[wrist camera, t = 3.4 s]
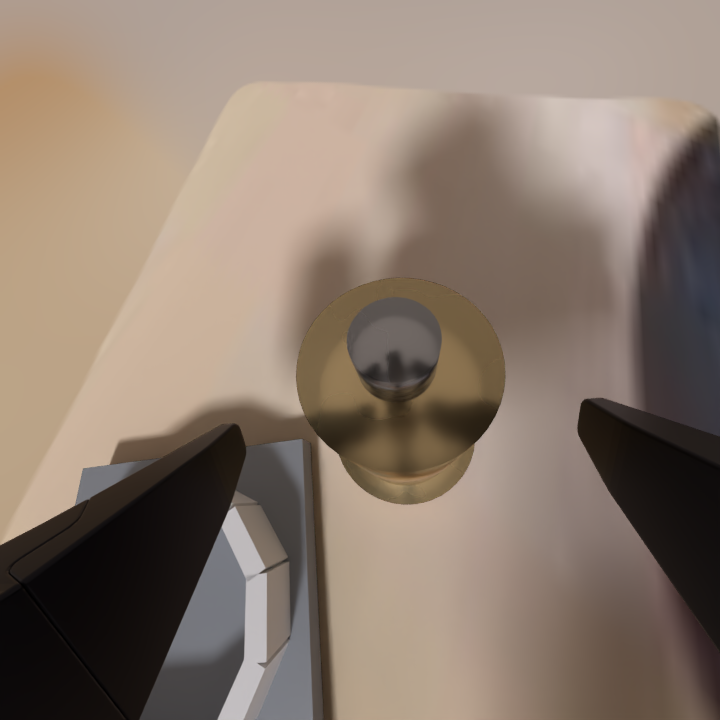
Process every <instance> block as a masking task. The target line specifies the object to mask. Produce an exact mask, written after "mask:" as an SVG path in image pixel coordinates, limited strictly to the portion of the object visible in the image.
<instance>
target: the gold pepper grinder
mask: <svg viewBox="0 0 720 720" xmlns="http://www.w3.org/2000/svg"><path fill="white" fill-rule="evenodd" d="M296 381H297V391H298V395H299V400H300V403H301V406H302V409H303V412H304V414H305V416H306V418H307V420H308V421H309V423H310V425H311V426H312V428H313V429H314V431H315V432H316V433H317V435H318V436H319V437H320V438H321V439H322V440H323V441H324V442H325V443H326V444H327V445H328V446H329V447H330V448H332V449H333V450H334V451H335V452H337V453H338V454H339V456H340V458H341V461H342V463H343V465H344V467H345V469H346V471H347V472H348V473H349V475H350V476H351V478H352V479H353V480H354V481H355V482H356V483H357V484H358V485H359V486H360V487H361V488H363V489H364V490H365V491H366V492H368V493H370V494H371V495H373V496H375V497H377V498H379V499H381V500H384V501H387V502H391V503H396V504H418V503H423V502H427V501H430V500H433V499H435V498H437V497H439V496H441V495H443V494H444V493H446V492H447V491H449V490H450V489H451V488H452V487H453V486H454V485H455V484H456V483H457V482H458V481H459V480H460V479H461V477H462V476H463V475H464V473H465V471H466V470H467V468H468V466H469V463H470V461H471V458H472V455H473V451H474V444H475V442H477V441H478V440H479V438H480V437H481V436H482V435H483V434H484V432H485V431H486V430H487V429H488V427H489V426H490V424H491V422H492V421H493V419H494V418H495V416H496V413H497V411H498V408H499V406H500V404H501V400H502V396H503V392H504V385H505V362H504V357H503V352H502V348H501V346H500V343H499V340H498V337H497V335H496V333H495V332H494V330H493V328H492V326H491V325H490V323H489V322H488V320H487V319H486V317H485V316H484V315H483V314H482V313H481V312H480V311H479V310H478V308H477V307H476V306H474V305H473V304H472V303H471V302H470V301H468V300H467V299H466V298H464V297H463V296H461V295H460V294H458V293H457V292H455V291H453V290H451V289H449V288H447V287H445V286H442V285H439V284H436V283H434V282H430V281H425V280H421V279H413V278H391V279H383V280H378V281H373V282H370V283H367V284H364V285H361V286H359V287H357V288H354V289H352V290H350V291H348V292H347V293H345V294H343V295H342V296H340V297H339V298H337V299H336V300H335V301H333V302H332V303H331V304H330V305H329V306H328V307H327V308H325V309H324V310H323V311H322V312H321V314H320V315H319V316H318V317H317V318H316V320H315V321H314V322H313V324H312V326H311V327H310V329H309V330H308V332H307V334H306V336H305V338H304V340H303V343H302V346H301V349H300V352H299V356H298V362H297V371H296Z"/></svg>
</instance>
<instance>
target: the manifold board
mask: <svg viewBox="0 0 720 720" xmlns="http://www.w3.org/2000/svg"><path fill="white" fill-rule="evenodd" d="M159 459H161V458H157V459H150V460H142V461H135V462H128V463H120V464H113V465H106V466H98V467H91V468H84V469H83V471H82V476H81V480H80V485H79V490H78V495H77V499H76V504H75V506H76V505H77V504H79V503H81V502H83V501H85V500H87V499H89V500H90V498H91V497H92V496H94V495H96V494H97V493H99V492H101V491H103V490H105V489H106V488H108V487H110V486H112V485H114V484H115V483H117V482H119V481H121V480H123V479H124V478H126V477H128V476H130V475H132V474H134V473H135V472H137V471H139V470H141V469H143V468H144V467H146V466H148V465H150V464H152V463H153V462H155V461H157V460H159ZM140 720H324V716H323V695H322V674H321V653H320V632H319V611H318V590H317V568H316V547H315V526H314V505H313V484H312V463H311V443H309V442H307V441H305V440H304V439H297V440H290V441H282V442H275V443H268V444H260V445H253V446H246V458H245V461H244V464H243V468H242V471H241V474H240V477H239V481H238V484H237V487H236V490H235V494H234V497H233V500H232V503H231V506H230V508H229V511H228V513H227V516H226V518H225V520H224V523H223V525H222V527H221V530H220V532H219V534H218V537H217V539H216V542H215V544H214V546H213V549H212V551H211V553H210V556H209V558H208V560H207V563H206V565H205V567H204V570H203V572H202V574H201V577H200V579H199V581H198V584H197V586H196V588H195V591H194V593H193V595H192V598H191V600H190V603H189V605H188V607H187V610H186V612H185V614H184V617H183V619H182V621H181V624H180V626H179V628H178V631H177V633H176V635H175V638H174V640H173V642H172V645H171V647H170V649H169V652H168V654H167V656H166V659H165V661H164V664H163V666H162V668H161V671H160V673H159V675H158V678H157V680H156V682H155V685H154V687H153V689H152V692H151V694H150V696H149V699H148V701H147V703H146V706H145V708H144V710H143V713H142V715H141V718H140Z"/></svg>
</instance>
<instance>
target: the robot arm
mask: <svg viewBox="0 0 720 720" xmlns="http://www.w3.org/2000/svg"><path fill="white" fill-rule="evenodd" d="M577 429H578V435H579V437H580V439H581V441H582V443H583V445H584V447H585V448H586V450H587V452H588V454H589V456H590V458H591V460H592V461H593V463H594V465H595V467H596V469H597V471H598V472H599V474H600V476H601V478H602V480H603V482H604V483H605V485H606V487H607V489H608V490H609V492H610V493H611V495H612V496H613V498H614V499H615V501H616V502H617V504H618V505H619V507H620V508H621V510H622V511H623V513H624V514H625V515H626V517H627V518H628V520H629V521H630V523H631V524H632V526H633V527H634V529H635V530H636V531H637V533H638V534H639V536H640V537H641V539H642V540H643V542H644V543H645V545H646V546H647V548H648V549H649V550H650V552H651V553H652V555H653V556H654V558H655V559H656V561H657V562H658V564H659V565H660V566H661V568H662V569H663V571H664V572H665V574H666V575H667V577H668V578H669V580H670V581H671V582H672V584H673V585H674V587H675V588H676V590H677V591H678V593H679V594H680V596H681V597H682V598H683V600H684V601H685V603H686V604H687V606H688V607H689V609H690V610H691V612H692V613H693V614H694V616H695V617H696V619H697V620H698V622H699V623H700V625H701V626H702V628H703V629H704V631H705V632H706V633H707V635H708V636H709V638H710V639H711V641H712V642H713V644H714V645H715V647H716V648H717V649H718V651H719V652H720V437H719V436H716V435H713V434H710V433H707V432H704V431H701V430H698V429H695V428H692V427H689V426H686V425H683V424H680V423H677V422H674V421H671V420H668V419H665V418H662V417H659V416H656V415H653V414H650V413H646V412H643V411H640V410H637V409H634V408H631V407H628V406H625V405H622V404H619V403H616V402H613V401H610V400H607V399H604V398H591V399H585V400H583V401H582V403H581V406H580V413H579V420H578V427H577ZM245 458H246V446H245V442H244V439H243V436H242V433H241V430H240V427H239V426H238V425H237V424H235V423H233V424H222V425H220V426H218V427H217V428H215V429H213V430H211V431H209V432H208V433H206V434H204V435H202V436H200V437H198V438H197V439H195V440H193V441H191V442H189V443H188V444H186V445H184V446H182V447H180V448H179V449H177V450H175V451H173V452H171V453H170V454H168V455H166V456H164V457H162V458H161V459H159V460H157V461H155V462H153V463H152V464H150V465H148V466H146V467H144V468H143V469H141V470H139V471H137V472H135V473H134V474H132V475H130V476H128V477H126V478H124V479H123V480H121V481H119V482H117V483H115V484H114V485H112V486H110V487H108V488H106V489H105V490H103V491H101V492H99V493H97V494H96V495H94V496H92V497H91V498H90V500H89V499H87V500H85V501H83V502H81V503H79V504H77V505H76V506H74V507H72V508H70V509H68V510H67V511H65V512H63V513H61V514H59V515H57V516H55V517H54V518H52V519H50V520H48V521H46V522H44V523H42V524H41V525H39V526H37V527H35V528H33V529H31V530H29V531H27V532H25V533H23V534H21V535H19V536H17V537H15V538H14V539H12V540H10V541H8V542H6V543H4V544H2V545H0V720H140V718H141V715H142V713H143V710H144V708H145V706H146V703H147V701H148V699H149V696H150V694H151V692H152V689H153V687H154V685H155V682H156V680H157V678H158V675H159V673H160V671H161V668H162V666H163V664H164V661H165V659H166V656H167V654H168V652H169V649H170V647H171V645H172V642H173V640H174V638H175V635H176V633H177V631H178V628H179V626H180V624H181V621H182V619H183V617H184V614H185V612H186V610H187V607H188V605H189V603H190V600H191V598H192V595H193V593H194V591H195V588H196V586H197V584H198V581H199V579H200V577H201V574H202V572H203V570H204V567H205V565H206V563H207V560H208V558H209V556H210V553H211V551H212V549H213V546H214V544H215V542H216V539H217V537H218V534H219V532H220V530H221V527H222V525H223V523H224V520H225V518H226V516H227V513H228V511H229V508H230V506H231V503H232V500H233V497H234V494H235V490H236V487H237V484H238V481H239V477H240V474H241V471H242V468H243V464H244V461H245Z"/></svg>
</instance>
